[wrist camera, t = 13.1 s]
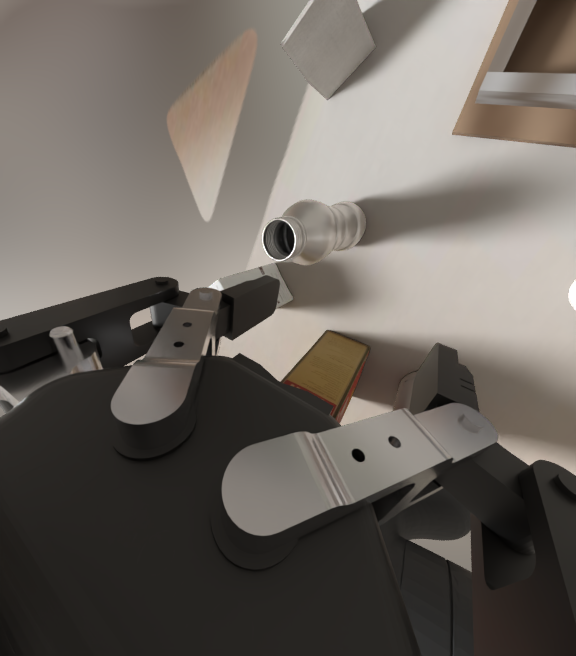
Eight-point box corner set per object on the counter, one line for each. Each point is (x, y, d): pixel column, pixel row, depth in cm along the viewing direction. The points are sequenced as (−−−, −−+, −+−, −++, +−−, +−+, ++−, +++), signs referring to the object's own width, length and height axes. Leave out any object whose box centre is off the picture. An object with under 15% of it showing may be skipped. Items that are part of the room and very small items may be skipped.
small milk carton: (375, 47, 27) (349, -16, 19) (327, 100, 31) (290, 65, 24) (362, 13, 27) (329, -65, 19) (314, 71, 31) (272, 27, 23)
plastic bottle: (319, 227, 38) (237, 241, 23) (350, 190, 34) (275, 178, 19) (345, 257, 38) (280, 291, 23) (379, 224, 34) (328, 239, 19)
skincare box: (294, 298, 46) (246, 328, 35) (273, 309, 50) (224, 339, 39) (274, 259, 45) (217, 278, 34) (254, 273, 49) (197, 294, 38)
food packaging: (353, 398, 49) (296, 521, 30) (312, 378, 53) (238, 477, 33) (373, 346, 42) (315, 464, 23) (325, 327, 46) (239, 416, 26)
